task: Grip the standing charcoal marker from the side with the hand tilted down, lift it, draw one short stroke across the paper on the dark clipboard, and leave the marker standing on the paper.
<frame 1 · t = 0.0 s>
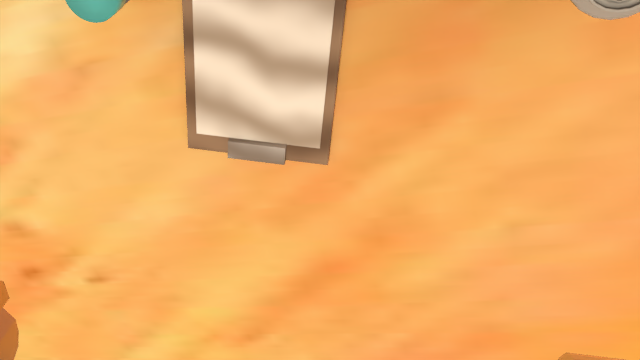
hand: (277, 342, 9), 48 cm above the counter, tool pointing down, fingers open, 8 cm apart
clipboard: (262, 55, 57), on the counter
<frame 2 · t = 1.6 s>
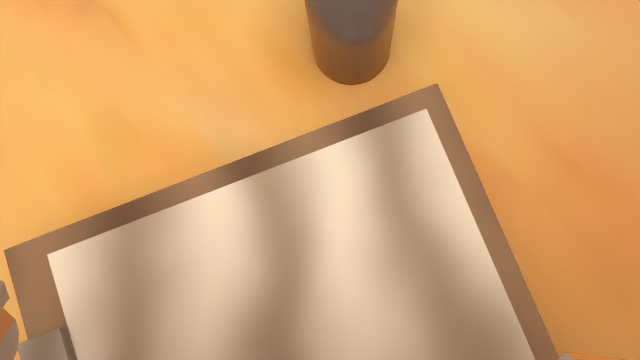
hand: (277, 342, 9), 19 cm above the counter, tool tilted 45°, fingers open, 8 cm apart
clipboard: (277, 317, 27), on the counter
marker: (351, 48, 29), on the counter
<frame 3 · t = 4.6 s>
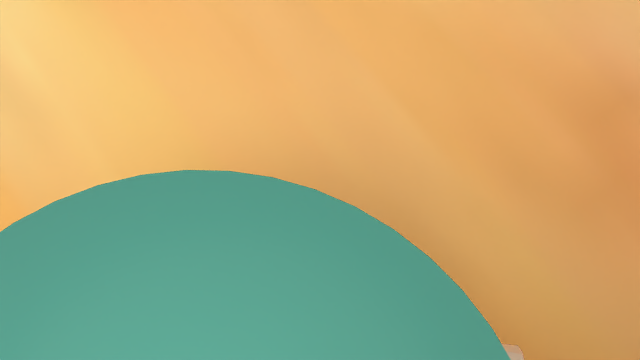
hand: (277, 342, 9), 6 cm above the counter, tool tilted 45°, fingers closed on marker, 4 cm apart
marker: (291, 350, 15), on the counter, touching gripper
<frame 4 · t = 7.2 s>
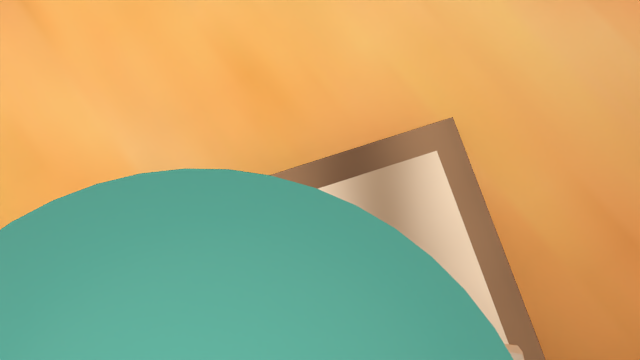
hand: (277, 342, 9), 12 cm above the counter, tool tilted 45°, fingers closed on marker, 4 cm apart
marker: (292, 350, 15), point 5 cm above the counter, touching gripper
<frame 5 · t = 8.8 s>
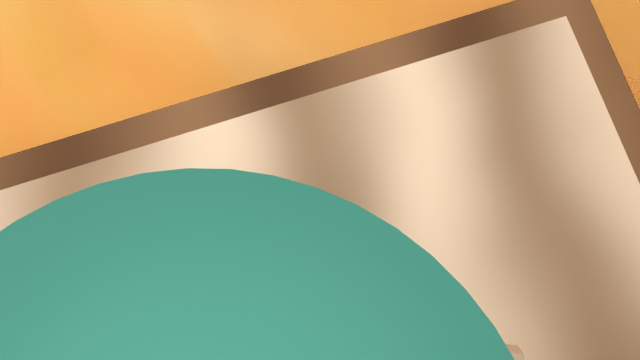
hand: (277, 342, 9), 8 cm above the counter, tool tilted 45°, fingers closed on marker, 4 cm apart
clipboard: (310, 338, 17), on the counter
marker: (292, 350, 15), point 2 cm above the counter, touching gripper
when the fingers open (8 cm above the counter, at t = 10.3 s): marker stays where it is, resting on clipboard.
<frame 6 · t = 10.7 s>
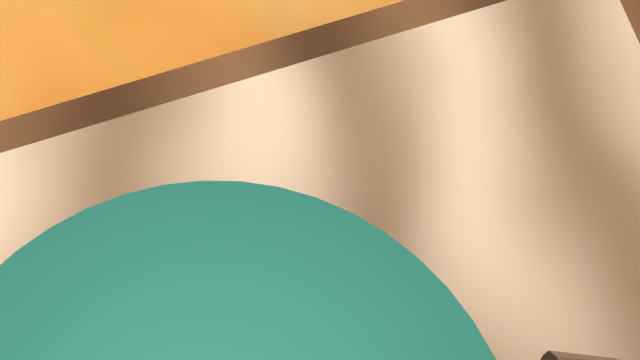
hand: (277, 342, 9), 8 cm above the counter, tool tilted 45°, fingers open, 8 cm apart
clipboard: (352, 288, 17), on the counter
marker: (294, 349, 15), point 1 cm above the counter, touching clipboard
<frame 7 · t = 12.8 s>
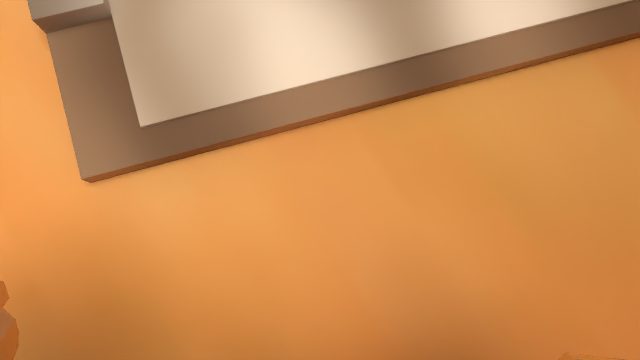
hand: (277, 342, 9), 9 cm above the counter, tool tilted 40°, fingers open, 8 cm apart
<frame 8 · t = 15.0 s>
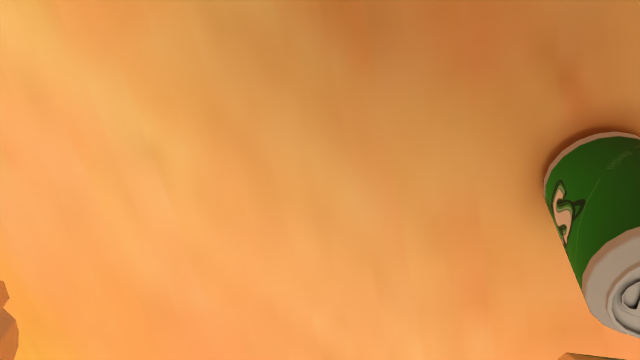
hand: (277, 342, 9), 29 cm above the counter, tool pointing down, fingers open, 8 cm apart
soda can: (596, 171, 40), on the counter
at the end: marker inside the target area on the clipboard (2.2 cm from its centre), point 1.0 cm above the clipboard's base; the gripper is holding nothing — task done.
